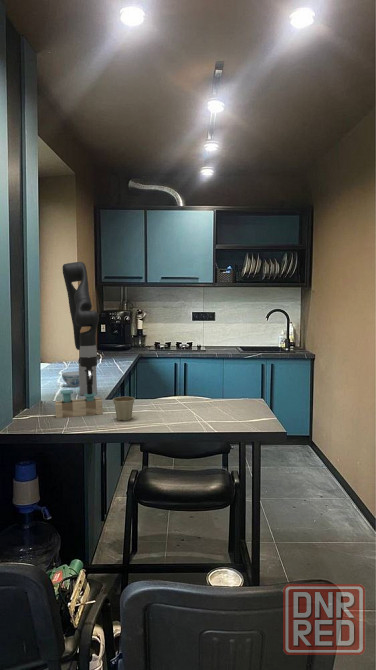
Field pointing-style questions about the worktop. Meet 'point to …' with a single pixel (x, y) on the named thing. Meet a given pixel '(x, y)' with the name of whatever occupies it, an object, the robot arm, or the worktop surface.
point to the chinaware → (71, 378)
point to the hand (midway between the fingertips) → (89, 393)
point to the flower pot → (124, 407)
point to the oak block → (78, 408)
